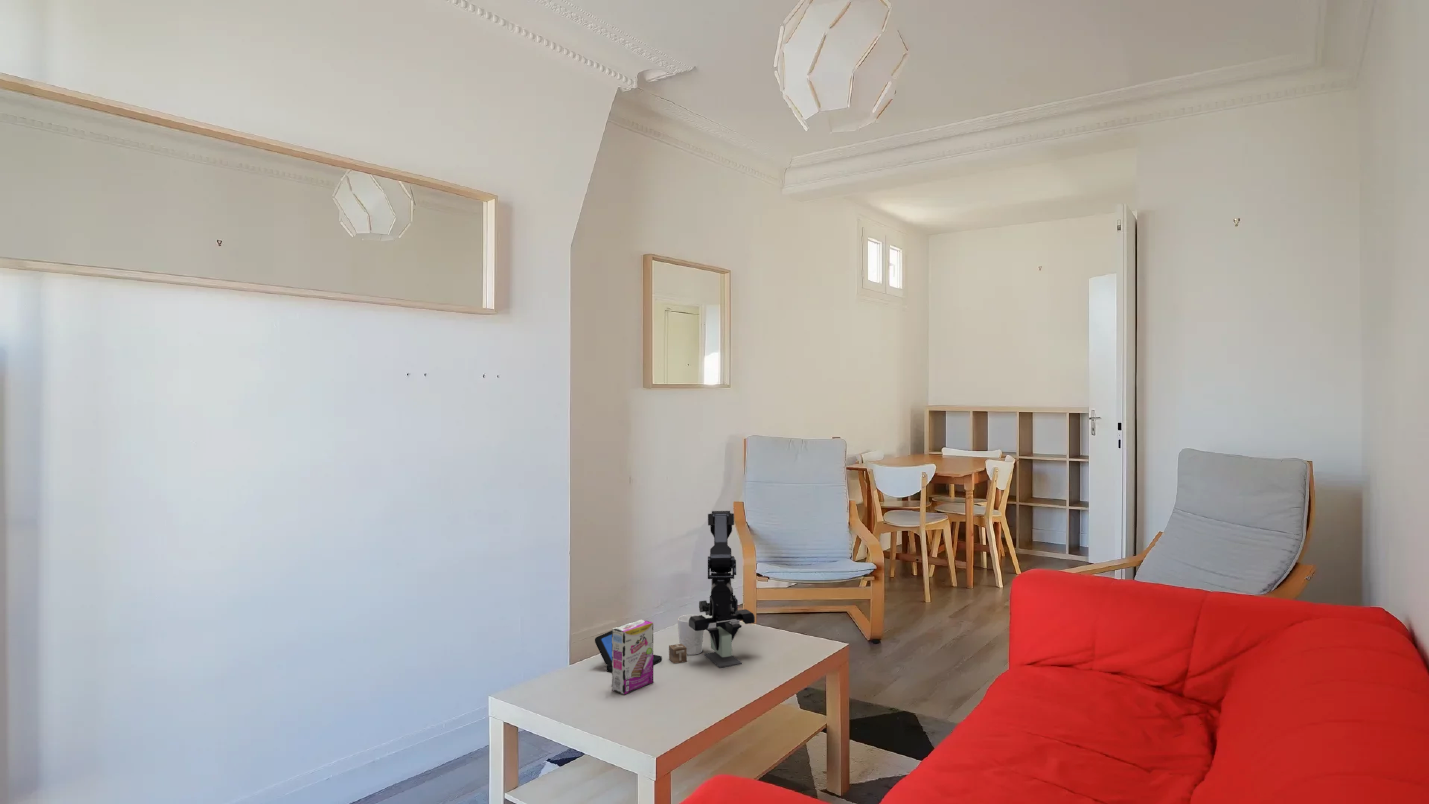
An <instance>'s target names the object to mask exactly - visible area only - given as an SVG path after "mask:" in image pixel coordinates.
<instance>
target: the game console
mask: <svg viewBox="0 0 1429 804" xmlns="http://www.w3.org/2000/svg"><path fill="white" fill-rule="evenodd" d="M594 643H595V645H596V647H597V649H598V651H599V653H600V656H601V658H602V660H603V662H604V664H605V665H606V666H605V667H606V669H605V670H606V672H609V673H612V630H610V631H608V632H605V633H602V634H600V635H598V636H596V637H595V638H594ZM662 660H663V657H662V655H658V654H657V655H656V654H653V666H654V665H656V664H658V663H660V662H661V661H662Z"/></svg>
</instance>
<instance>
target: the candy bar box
mask: <svg viewBox="0 0 1429 804" xmlns="http://www.w3.org/2000/svg"><path fill="white" fill-rule="evenodd" d="M611 631H612V672H611V690H612V692H614V693H619V694H621V695H627V694H629V693H632V692H634V691H636V690H638V689H642V688H643V687H645V686H648V685H651V684H653V683H654V665H653V655H654V622H652V621H649V620H646V619H645V620H644V619H638V620H636V621H632V622H630V623H629V622H628V623H626V624H622V625H619V626H616V627H613V628H611Z"/></svg>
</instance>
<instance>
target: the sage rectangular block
mask: <svg viewBox="0 0 1429 804" xmlns="http://www.w3.org/2000/svg"><path fill="white" fill-rule="evenodd" d="M716 628H718V629H719V649H718V651H717V650H716V649H715V646H714V643H713V640H712V637H711V635H710V639H709V640H710V649H711V650H712V651H713V652H716V653H718V654H719V655H720V656H721V657H728V656H732V655H733V646H732V645H733V641H732V635H731V634H730V633H728V632H727V631H725V630H724V629H722V628H721V627H716Z"/></svg>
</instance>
